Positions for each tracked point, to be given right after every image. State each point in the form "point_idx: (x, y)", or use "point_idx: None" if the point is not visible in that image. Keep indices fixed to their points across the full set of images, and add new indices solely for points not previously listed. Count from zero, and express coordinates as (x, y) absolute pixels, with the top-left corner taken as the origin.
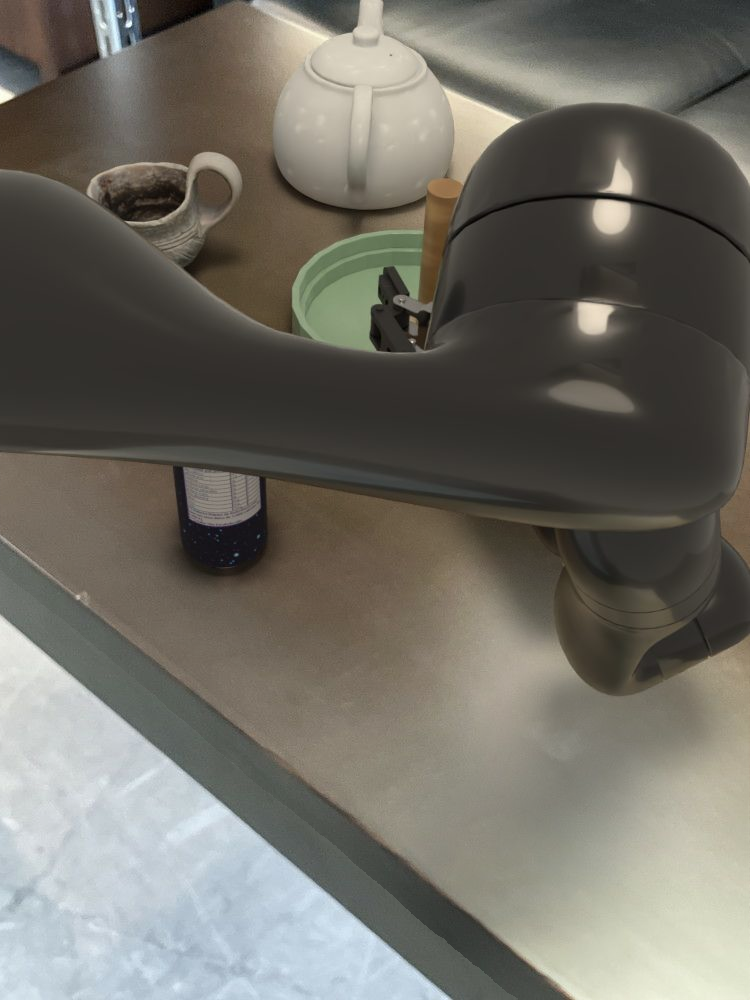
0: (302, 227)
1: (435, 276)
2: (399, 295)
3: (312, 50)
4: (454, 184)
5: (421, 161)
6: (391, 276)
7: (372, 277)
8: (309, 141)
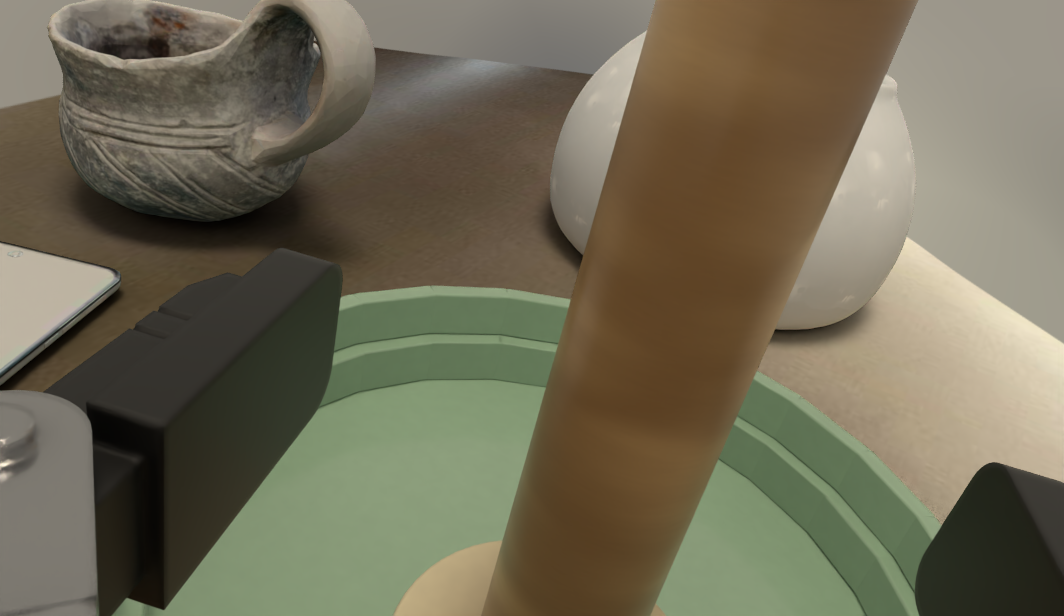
0: (514, 274)
1: (581, 444)
2: (46, 400)
3: None
4: None
5: None
6: (233, 290)
7: None
8: (598, 123)
